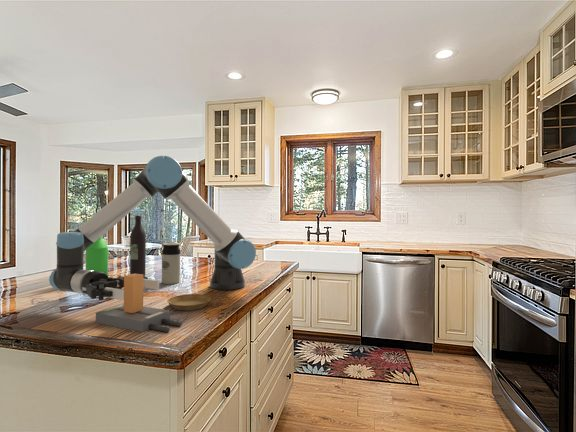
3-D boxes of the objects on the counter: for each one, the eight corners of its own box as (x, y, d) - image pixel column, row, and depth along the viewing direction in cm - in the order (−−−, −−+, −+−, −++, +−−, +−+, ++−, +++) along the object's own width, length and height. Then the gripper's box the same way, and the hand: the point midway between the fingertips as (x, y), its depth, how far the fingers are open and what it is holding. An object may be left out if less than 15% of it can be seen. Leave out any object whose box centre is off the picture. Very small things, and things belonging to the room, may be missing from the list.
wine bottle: (130, 275, 173) (130, 215, 172) (145, 274, 176) (145, 215, 175) (129, 277, 166) (130, 215, 166) (145, 276, 169) (146, 215, 169)
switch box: (95, 322, 102) (95, 312, 102) (125, 312, 112) (126, 303, 112) (161, 335, 92) (161, 324, 92) (187, 323, 102) (188, 313, 102)
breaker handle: (123, 311, 102) (124, 275, 102) (134, 308, 106) (134, 273, 106) (132, 313, 101) (132, 276, 100) (143, 309, 104) (143, 274, 104)
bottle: (100, 284, 152) (101, 227, 151) (81, 283, 152) (81, 227, 151) (111, 280, 161) (111, 226, 160) (92, 279, 161) (93, 226, 160)
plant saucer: (193, 315, 111) (193, 307, 111) (157, 309, 117) (157, 301, 117) (219, 304, 125) (219, 296, 125) (186, 299, 131) (186, 292, 131)
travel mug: (172, 279, 163) (173, 242, 163) (183, 282, 159) (183, 243, 158) (157, 282, 157) (158, 243, 157) (168, 285, 152) (168, 244, 152)
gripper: (123, 286, 122) (170, 293, 113) (51, 304, 99) (104, 313, 90) (123, 265, 121) (171, 270, 113) (51, 277, 98) (104, 285, 90)
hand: (141, 289), depth 102 cm, fingers open, 13 cm apart
